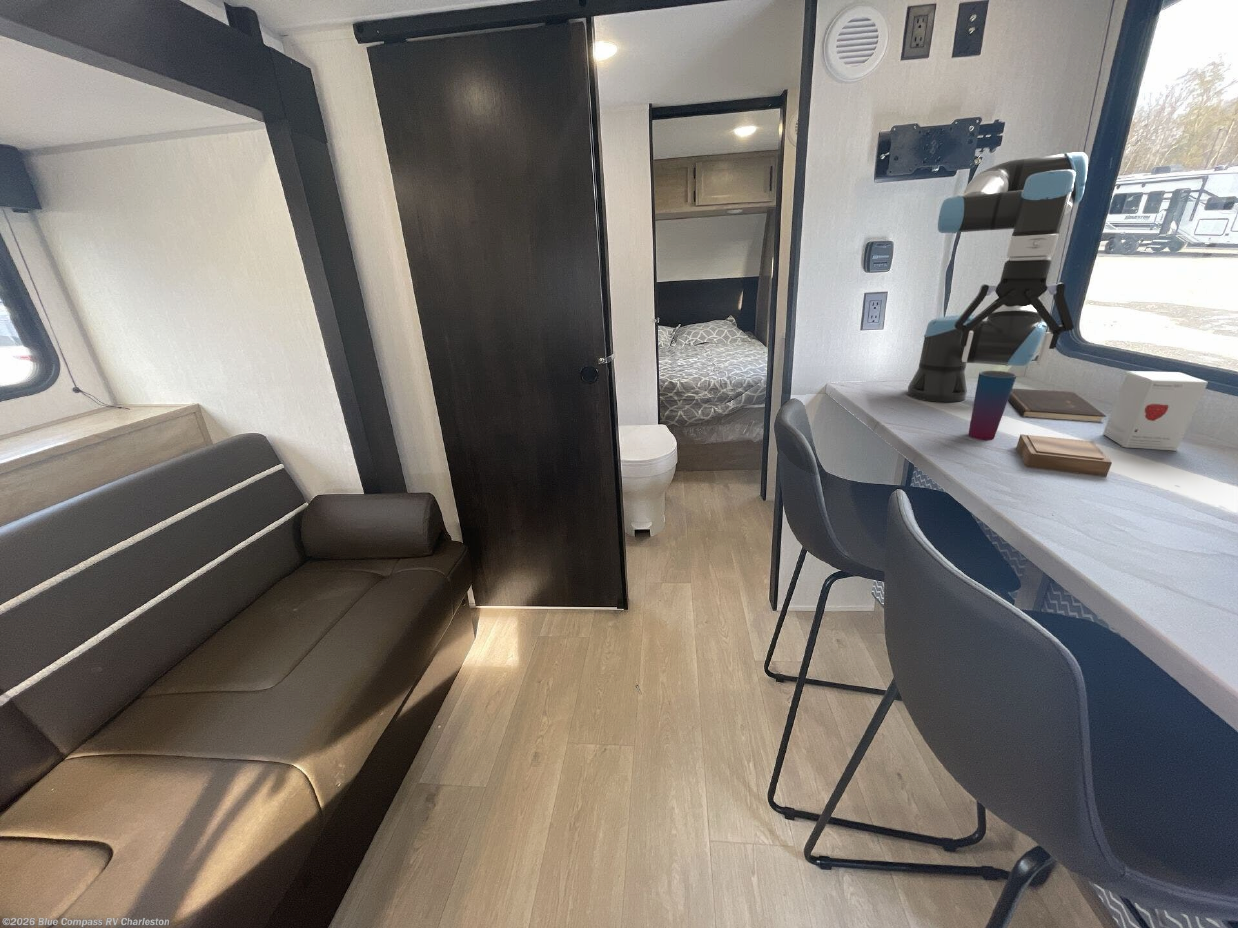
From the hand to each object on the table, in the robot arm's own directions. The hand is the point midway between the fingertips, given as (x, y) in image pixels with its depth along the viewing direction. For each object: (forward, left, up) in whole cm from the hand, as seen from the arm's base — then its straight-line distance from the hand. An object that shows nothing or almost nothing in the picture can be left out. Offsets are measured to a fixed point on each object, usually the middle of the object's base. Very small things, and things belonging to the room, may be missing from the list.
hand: (1000, 362), depth 106 cm
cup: (0, 0, -18) cm, 18 cm away
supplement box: (-7, +29, -18) cm, 35 cm away
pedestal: (+11, +12, -18) cm, 24 cm away
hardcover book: (-32, +18, -18) cm, 41 cm away
